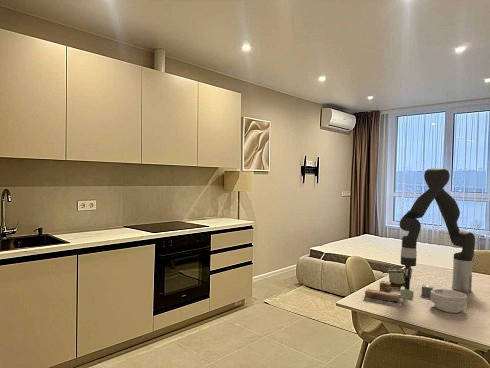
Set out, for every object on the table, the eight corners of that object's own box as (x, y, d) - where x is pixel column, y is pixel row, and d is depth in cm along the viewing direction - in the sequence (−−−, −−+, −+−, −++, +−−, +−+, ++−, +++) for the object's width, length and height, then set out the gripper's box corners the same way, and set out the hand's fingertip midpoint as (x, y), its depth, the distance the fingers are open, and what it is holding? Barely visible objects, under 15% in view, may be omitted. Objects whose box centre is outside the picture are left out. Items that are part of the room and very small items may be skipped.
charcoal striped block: (432, 295, 191) (433, 285, 191) (432, 297, 187) (432, 287, 187) (422, 293, 194) (422, 284, 194) (421, 295, 189) (421, 286, 189)
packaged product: (363, 291, 179) (367, 286, 187) (362, 300, 179) (367, 295, 187) (402, 298, 170) (404, 293, 178) (401, 308, 170) (404, 302, 178)
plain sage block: (413, 295, 189) (413, 288, 189) (412, 299, 184) (413, 291, 184) (401, 293, 192) (401, 286, 192) (400, 296, 187) (400, 289, 187)
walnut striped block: (390, 291, 195) (391, 282, 195) (389, 293, 191) (389, 284, 191) (381, 289, 198) (381, 280, 198) (379, 291, 194) (379, 282, 193)
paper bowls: (433, 301, 180) (434, 286, 180) (468, 309, 171) (469, 293, 171) (426, 309, 169) (427, 292, 168) (463, 318, 159) (464, 300, 159)
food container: (406, 285, 208) (406, 268, 208) (409, 288, 202) (410, 271, 201) (384, 284, 209) (385, 267, 209) (387, 287, 203) (388, 269, 203)
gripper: (415, 259, 180) (413, 293, 180) (417, 254, 191) (416, 287, 192) (399, 257, 184) (397, 290, 184) (402, 253, 195) (401, 284, 195)
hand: (407, 288), depth 188 cm, fingers closed
